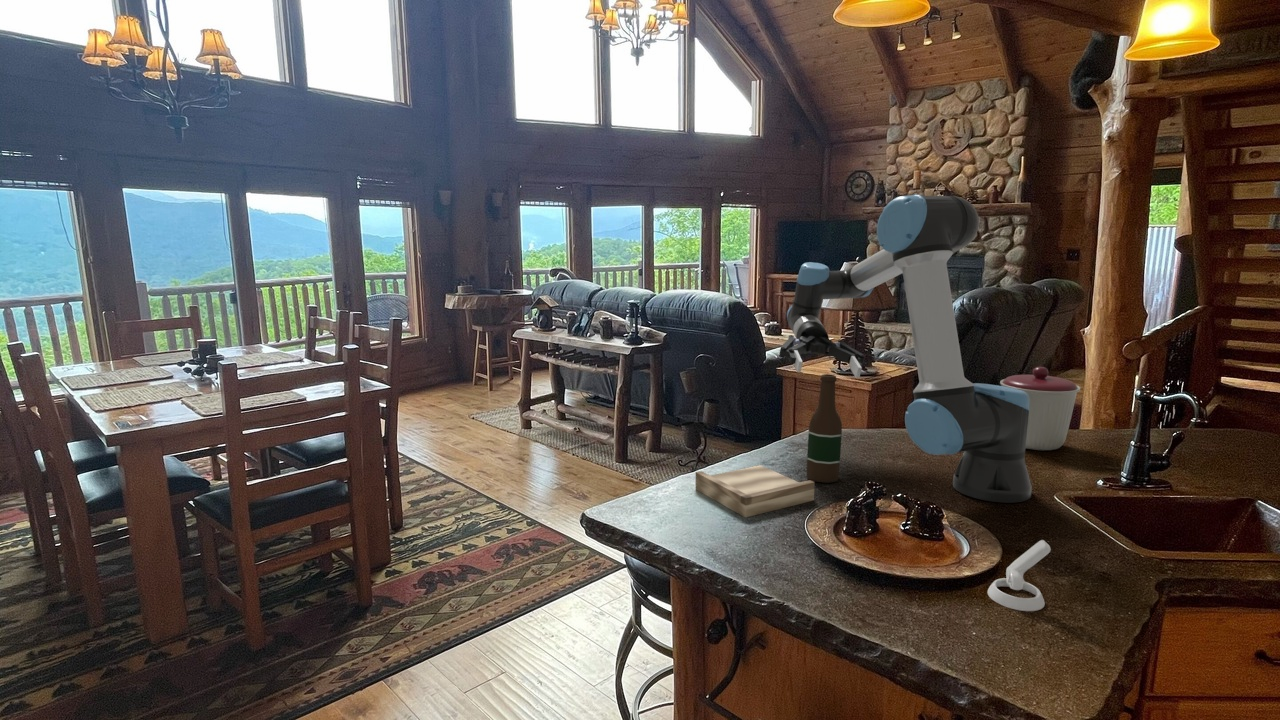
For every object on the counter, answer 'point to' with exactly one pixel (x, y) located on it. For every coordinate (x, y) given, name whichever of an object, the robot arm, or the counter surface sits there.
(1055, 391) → the canister
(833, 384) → the beer bottle
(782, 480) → the wooden tray
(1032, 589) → the white ring with handle
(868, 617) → the counter surface
